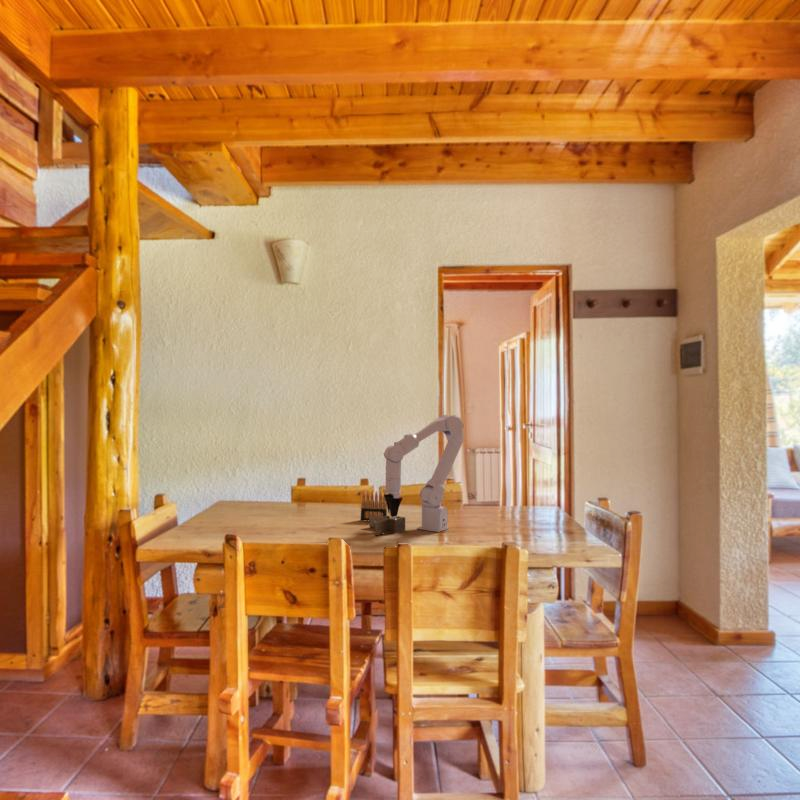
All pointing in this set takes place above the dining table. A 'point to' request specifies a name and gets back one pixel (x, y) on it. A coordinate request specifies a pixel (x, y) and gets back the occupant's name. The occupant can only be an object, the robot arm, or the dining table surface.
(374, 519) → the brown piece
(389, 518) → the pin
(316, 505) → the dining table surface
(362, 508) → the ammunition clip
